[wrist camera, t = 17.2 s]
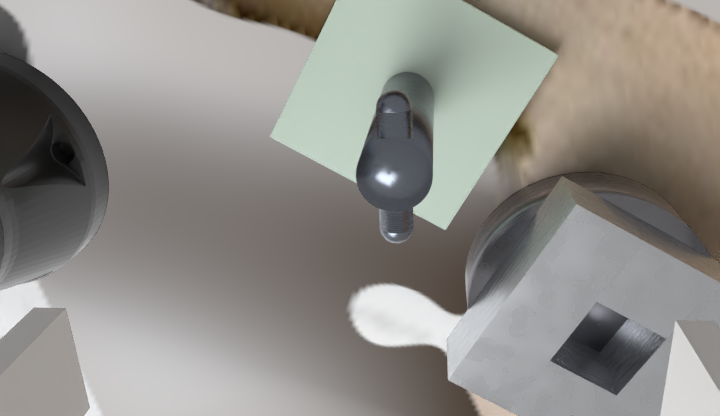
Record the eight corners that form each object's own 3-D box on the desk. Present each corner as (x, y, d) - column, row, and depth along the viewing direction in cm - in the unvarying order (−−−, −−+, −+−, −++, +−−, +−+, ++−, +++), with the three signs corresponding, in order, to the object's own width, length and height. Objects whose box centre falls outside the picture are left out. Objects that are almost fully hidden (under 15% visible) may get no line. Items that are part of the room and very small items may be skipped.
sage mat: (273, 132, 41) (269, 137, 40) (365, -56, 36) (363, -56, 35) (445, 223, 42) (445, 230, 41) (555, 52, 37) (558, 55, 36)
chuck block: (425, 309, 44) (422, 384, 37) (545, 130, 39) (570, 177, 32) (604, 402, 46) (637, 492, 38) (745, 241, 40) (814, 310, 33)
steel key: (379, 41, 37) (352, 95, 25) (434, 40, 37) (432, 94, 25) (382, 152, 39) (359, 249, 27) (433, 152, 39) (432, 250, 27)
